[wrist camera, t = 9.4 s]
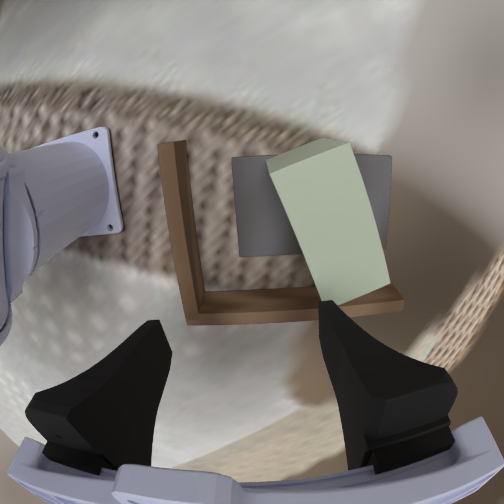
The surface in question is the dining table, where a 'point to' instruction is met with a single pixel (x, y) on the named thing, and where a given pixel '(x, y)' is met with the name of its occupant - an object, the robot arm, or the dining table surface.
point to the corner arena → (261, 242)
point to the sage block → (331, 218)
